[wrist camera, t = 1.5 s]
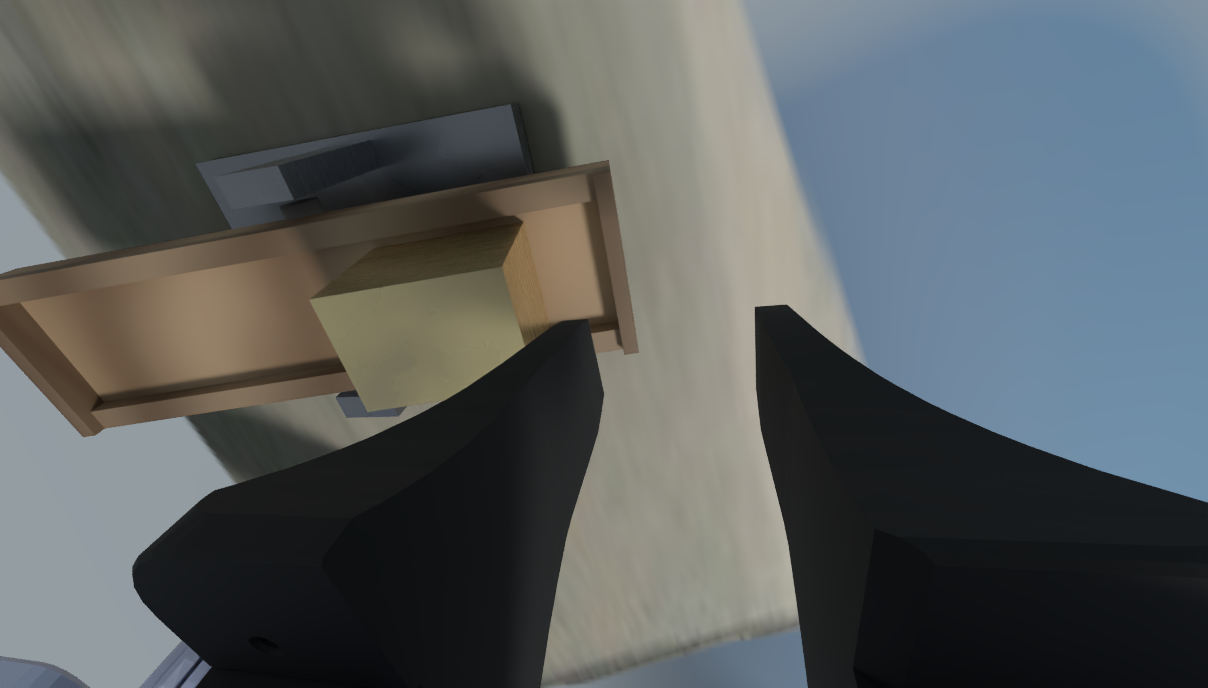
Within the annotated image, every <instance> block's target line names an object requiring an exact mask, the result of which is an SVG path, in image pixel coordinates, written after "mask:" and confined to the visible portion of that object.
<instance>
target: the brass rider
mask: <svg viewBox="0 0 1208 688" xmlns="http://www.w3.org/2000/svg"><path fill="white" fill-rule="evenodd" d="M309 301H310V303H311V304H312V306H313V308H314V310H315V312H316V314H317V316H318V318H319V320H320V322H321V324H322V326H323V327H324V329H325V331H326V333H327V335H328V337H329V339H330V341H331V343H332V345H333V347H334V349H335V350H336V352H337V354H338V356H339V358H340V360H341V362H342V364H343V366H344V368H345V370H346V372H347V374H348V375H349V377H350V379H351V381H352V383H353V385H354V387H355V389H356V391H357V393H358V395H359V397H360V398H361V400H362V402H363V404H364V406H365V408H366V410H367V412H371V411H378V410H385V409H391V408H398V407H405V406H411V405H418V404H425V403H432V402H438V401H444V400H446V399H448V398H449V397H451V396H453V395H454V394H456V393H458V392H460V391H461V390H463V389H464V388H466V387H468V386H469V385H471V384H472V383H474V382H475V381H476V380H478V379H479V378H481V377H482V376H484V375H485V374H487V373H488V372H490V371H491V370H493V369H494V368H496V367H497V366H499V365H500V364H502V363H503V362H504V361H506V360H507V359H508V358H510V357H511V356H513V355H514V354H515V353H517V352H518V351H519V350H521V349H522V348H523V347H525V346H526V345H527V344H529V343H530V342H531V341H533V340H534V339H535V338H537V337H538V336H540V335H541V334H542V333H544V332H545V331H546V330H548V326H549V318H548V315H547V311H546V307H545V303H544V299H543V295H542V291H541V287H540V283H539V279H538V276H537V272H536V268H535V264H534V260H533V256H532V252H531V248H530V244H529V240H528V236H527V233H526V229H525V225H524V222H520V223H514V224H508V225H502V226H497V227H491V228H485V229H480V230H474V231H468V232H463V233H457V234H451V235H446V236H440V237H434V238H429V239H423V240H417V241H412V242H406V243H400V244H395V245H389V246H383V247H377V248H373V249H372V250H370V251H369V252H368V253H367V254H365V255H364V256H363V257H362V258H360V259H359V260H358V261H357V262H355V263H354V264H353V265H352V266H350V267H349V268H348V269H347V270H345V271H344V272H343V273H342V274H340V275H339V276H338V277H337V278H335V279H334V280H333V281H332V282H330V283H329V284H328V285H327V286H325V287H324V288H323V289H322V290H320V291H319V292H318V293H317V294H315V295H314V296H313V297H312V298H310V299H309Z"/></svg>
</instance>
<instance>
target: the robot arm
mask: <svg viewBox="0 0 1208 688" xmlns="http://www.w3.org/2000/svg"><path fill="white" fill-rule="evenodd" d="M755 345H756V391H757V400H758V409H759V417H760V426H761V432H762V436H763V440H764V444H765V448H766V452H767V456H768V460H769V464H770V468H771V472H772V476H773V480H774V484H775V488H776V492H777V496H778V500H779V504H780V508H781V512H782V517H783V521H784V525H785V530H786V535H787V540H788V545H789V551H790V558H791V566H792V573H793V580H794V587H795V594H796V601H797V608H798V616H799V623H800V630H801V638H802V645H803V653H804V660H805V668H806V676H807V684H808V688H1208V503H1207V502H1204V501H1200V500H1197V499H1194V498H1190V497H1187V496H1184V495H1180V494H1177V493H1174V492H1170V491H1167V490H1163V489H1160V488H1157V487H1153V486H1150V485H1146V484H1143V483H1140V482H1136V481H1133V480H1129V479H1126V478H1123V477H1119V476H1115V475H1112V474H1109V473H1106V472H1102V471H1099V470H1096V469H1093V468H1090V467H1087V466H1084V465H1082V464H1079V463H1076V462H1073V461H1070V460H1067V459H1065V458H1062V457H1059V456H1056V455H1053V454H1050V453H1048V452H1045V451H1042V450H1039V449H1036V448H1033V447H1030V446H1028V445H1025V444H1023V443H1020V442H1018V441H1015V440H1012V439H1010V438H1007V437H1005V436H1002V435H1000V434H997V433H995V432H992V431H990V430H988V429H985V428H983V427H981V426H979V425H976V424H974V423H972V422H969V421H967V420H965V419H962V418H960V417H958V416H956V415H953V414H951V413H949V412H947V411H945V410H943V409H941V408H938V407H936V406H934V405H932V404H930V403H928V402H926V401H924V400H922V399H921V398H919V397H917V396H915V395H913V394H911V393H910V392H908V391H906V390H904V389H902V388H900V387H898V386H896V385H895V384H893V383H891V382H889V381H888V380H886V379H884V378H883V377H881V376H879V375H878V374H876V373H875V372H873V371H872V370H870V369H869V368H867V367H866V366H864V365H863V364H861V363H860V362H858V361H857V360H855V359H854V358H852V357H851V356H849V355H848V354H847V353H845V352H844V351H842V350H841V349H840V348H838V347H837V346H836V345H834V344H833V343H832V342H830V341H829V340H828V339H827V338H825V337H824V336H823V335H822V334H820V333H819V332H818V331H817V330H816V329H814V328H813V327H812V326H811V325H810V324H809V323H807V322H806V321H805V320H804V319H803V318H802V317H801V316H799V315H798V314H797V313H796V312H795V311H794V310H793V309H791V308H790V307H789V306H788V305H775V306H761V307H755ZM603 398H604V392H603V387H602V382H601V377H600V373H599V368H598V363H597V358H596V354H595V349H594V344H593V339H592V335H591V330H590V325H589V320H588V319H579V320H565V321H561V322H559V323H557V324H555V325H554V326H552V327H551V328H549V329H548V330H546V331H545V332H544V333H542V334H541V335H540V336H538V337H537V338H535V339H534V340H533V341H531V342H530V343H529V344H527V345H526V346H525V347H523V348H522V349H521V350H519V351H518V352H517V353H515V354H514V355H513V356H511V357H510V358H508V359H507V360H506V361H504V362H503V363H502V364H500V365H499V366H497V367H496V368H494V369H493V370H491V371H490V372H488V373H487V374H485V375H484V376H482V377H481V378H479V379H478V380H476V381H475V382H474V383H472V384H471V385H469V386H468V387H466V388H464V389H463V390H461V391H460V392H458V393H456V394H454V395H453V396H451V397H449V398H448V399H446V400H444V401H442V402H441V403H439V404H437V405H435V406H433V407H431V408H430V409H428V410H426V411H424V412H422V413H420V414H418V415H416V416H414V417H412V418H410V419H408V420H406V421H404V422H402V423H399V424H397V425H395V426H393V427H391V428H389V429H387V430H384V431H382V432H380V433H378V434H376V435H374V436H372V437H369V438H367V439H365V440H362V441H360V442H357V443H355V444H352V445H350V446H347V447H345V448H342V449H340V450H337V451H335V452H332V453H329V454H327V455H324V456H321V457H318V458H316V459H313V460H310V461H308V462H305V463H302V464H299V465H296V466H293V467H290V468H287V469H284V470H280V471H277V472H274V473H271V474H268V475H264V476H261V477H258V478H255V479H251V480H248V481H245V482H242V483H239V484H235V485H232V486H229V487H225V488H221V489H218V490H215V491H213V492H211V493H210V494H208V495H207V496H206V497H205V498H203V499H202V500H200V501H199V502H198V503H197V504H196V505H195V506H194V507H192V508H191V509H190V510H189V511H188V512H187V513H186V514H185V515H184V516H183V517H181V518H180V519H179V520H178V521H177V522H176V523H175V524H174V525H173V526H171V527H170V528H169V529H168V530H167V531H166V532H165V533H163V534H162V535H161V536H160V537H159V538H158V539H157V540H156V541H155V542H153V543H152V544H151V545H150V546H149V547H148V548H147V549H146V550H145V551H143V552H142V553H141V554H140V555H139V556H138V558H137V559H136V561H135V563H134V565H133V570H132V572H133V573H132V575H133V582H134V588H135V589H136V591H137V593H138V594H139V596H140V598H141V600H142V601H143V603H144V604H145V605H146V606H147V607H148V608H149V609H150V610H151V611H152V612H153V613H154V615H155V616H156V617H157V618H158V619H159V620H161V621H162V622H163V623H164V624H165V625H166V626H167V627H168V628H169V629H170V630H171V631H172V632H174V633H175V634H176V635H177V636H178V637H179V638H180V639H181V640H182V641H181V642H180V643H179V644H178V646H177V647H176V648H175V649H174V650H173V651H172V652H171V653H170V654H169V655H168V656H167V657H166V659H165V660H164V661H163V662H162V663H161V664H160V665H159V666H158V668H157V669H156V670H155V671H154V672H153V673H152V674H151V675H150V677H149V678H148V679H147V680H146V681H145V682H144V683H143V684H142V686H141V687H140V688H540V686H541V679H542V673H543V666H544V660H545V653H546V647H547V640H548V633H549V628H550V622H551V616H552V610H553V605H554V599H555V593H556V588H557V582H558V577H559V572H560V567H561V562H562V557H563V552H564V547H565V542H566V537H567V533H568V529H569V525H570V522H571V518H572V514H573V511H574V508H575V505H576V502H577V499H578V495H579V492H580V489H581V486H582V483H583V479H584V476H585V473H586V470H587V467H588V464H589V460H590V457H591V454H592V451H593V447H594V444H595V441H596V437H597V434H598V430H599V424H600V418H601V412H602V405H603ZM0 688H90V687H89V686H87V685H86V684H85V683H84V682H82V681H81V680H80V679H78V678H77V677H75V676H74V675H72V674H71V673H69V672H67V671H66V670H64V669H61V668H59V667H57V666H55V665H51V664H48V663H44V662H37V661H30V660H23V659H16V658H9V657H2V656H0Z"/></svg>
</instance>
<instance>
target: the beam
mask: <svg viewBox="0 0 1208 688" xmlns="http://www.w3.org/2000/svg"><path fill="white" fill-rule="evenodd" d="M279 208H280V210H281V212H282V214H283V216H284V218H285V220H279V221H274V222H268V223H263V224H258V225H252V226H247V227H241V228H236V229H230V230H225V231H219V232H214V233H208V234H203V235H198V236H192V237H187V238H181V239H176V240H170V241H165V242H159V243H154V244H148V245H143V246H137V247H132V248H127V249H121V250H116V251H110V252H105V253H99V254H94V255H88V256H83V257H77V258H72V259H67V260H61V261H56V262H50V263H45V264H39V265H34V266H28V267H23V268H17V269H14V270H11V271H9V272H5V273H3V274H0V347H1V348H2V349H3V350H4V351H5V353H6V354H7V355H8V356H9V357H10V358H11V359H12V360H13V361H14V362H15V363H16V365H17V366H18V367H19V368H20V369H21V370H22V371H23V372H24V373H25V374H26V375H27V376H28V378H29V379H30V380H31V381H32V382H33V383H34V384H35V385H36V386H37V387H38V388H39V390H40V391H41V392H42V393H43V394H44V395H45V396H46V397H47V398H48V399H49V400H50V401H51V403H52V404H53V405H54V406H55V407H56V408H57V409H58V410H59V411H60V412H61V414H62V415H64V417H65V418H66V419H67V420H68V421H69V422H70V423H71V424H72V425H73V426H74V428H75V429H76V430H77V431H78V432H79V433H80V434H81V435H82V436H83V437H87V436H94V435H96V434H98V433H99V432H101V431H102V430H103V429H105V428H110V427H116V426H124V425H130V424H136V423H143V422H150V421H156V420H162V419H169V418H176V417H182V416H189V415H195V414H202V413H208V412H215V411H222V410H228V409H235V408H241V407H248V406H254V405H261V404H267V403H274V402H280V401H287V400H293V399H300V398H306V397H313V396H319V395H326V394H332V393H339V392H346V391H352V390H356V389H355V387H354V385H353V383H352V381H351V379H350V377H349V375H348V374H347V372H346V370H345V368H344V366H343V364H342V362H341V360H340V358H339V356H338V354H337V352H336V350H335V349H334V347H333V345H332V343H331V341H330V339H329V337H328V335H327V333H326V331H325V329H324V327H323V326H322V324H321V322H320V320H319V318H318V316H317V314H316V312H315V310H314V308H313V306H312V304H311V303H310V301H309V299H310V298H312V297H313V296H314V295H315V294H317V293H318V292H319V291H320V290H322V289H323V288H324V287H325V286H327V285H328V284H329V283H330V282H332V281H333V280H334V279H335V278H337V277H338V276H339V275H340V274H342V273H343V272H344V271H345V270H347V269H348V268H349V267H350V266H352V265H353V264H354V263H355V262H357V261H358V260H359V259H360V258H362V257H363V256H364V255H365V254H367V253H368V252H369V251H370V250H372V249H373V248H377V247H383V246H389V245H395V244H400V243H406V242H412V241H417V240H423V239H429V238H434V237H440V236H446V235H451V234H457V233H463V232H468V231H474V230H480V229H485V228H491V227H497V226H502V225H508V224H514V223H520V222H524V225H525V229H526V233H527V236H528V240H529V244H530V248H531V252H532V256H533V260H534V264H535V268H536V272H537V276H538V279H539V283H540V287H541V291H542V295H543V299H544V303H545V307H546V311H547V315H548V318H549V326H548V329H549V328H551V327H552V326H554V325H555V324H557V323H559V322H561V321H565V320H579V319H588V320H589V325H590V330H591V335H592V339H593V344H594V349H595V353H600V352H607V351H613V350H620V349H623V350H624V355H626V354H633V353H639V351H638V344H637V337H636V330H635V323H634V317H633V310H632V304H631V298H630V291H629V285H628V279H627V272H626V266H625V260H624V253H623V247H622V241H621V234H620V228H619V222H618V215H617V209H616V203H615V196H614V190H613V184H612V177H611V171H610V165H609V160H607V161H601V162H596V163H590V164H585V165H579V166H574V167H568V168H563V169H558V170H552V171H547V172H541V173H536V174H530V175H525V176H519V177H514V178H508V179H503V180H498V181H492V182H487V183H481V184H476V185H470V186H465V187H459V188H454V189H448V190H443V191H438V192H432V193H427V194H421V195H416V196H410V197H405V198H399V199H394V200H388V201H383V202H378V203H372V204H367V205H361V206H356V207H350V208H345V209H339V210H334V211H328V212H324V210H323V208H322V205H321V203H320V201H319V199H318V197H311V198H306V199H301V200H297V201H293V202H290V203H287V204H284V205H282V206H280V207H279Z"/></svg>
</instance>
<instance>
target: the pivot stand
mask: <svg viewBox="0 0 1208 688" xmlns="http://www.w3.org/2000/svg"><path fill="white" fill-rule="evenodd" d="M196 166H197V168H198V170H199V171H200V173H201V175H202V177H203V179H204V180H205V182H206V184H207V186H208V187H209V189H210V191H211V193H212V195H213V196H214V198H215V200H216V202H217V203H218V205H219V207H220V209H221V211H222V212H223V214H224V216H225V218H226V219H227V221H228V223H229V225H230V227H231V228H232V229H236V228H241V227H247V226H252V225H258V224H263V223H268V222H274V221H279V220H285V218H284V216H283V214H282V212H281V210H280V208H279V207H280V206H282V205H284V204H287V203H290V202H293V201H297V200H301V199H306V198H311V197H318V199H319V201H320V203H321V205H322V208H323V210H324V212H328V211H334V210H339V209H345V208H350V207H356V206H361V205H367V204H372V203H378V202H383V201H388V200H394V199H399V198H405V197H410V196H416V195H421V194H427V193H432V192H438V191H443V190H448V189H454V188H459V187H465V186H470V185H476V184H481V183H487V182H492V181H498V180H503V179H508V178H514V177H519V176H525V175H530V174H535V172H534V168H533V164H532V159H531V155H530V151H529V147H528V142H527V138H526V134H525V129H524V125H523V121H522V116H521V112H520V108H519V104H518V102H516V103H511V104H506V105H500V106H495V107H490V108H485V109H479V110H474V111H469V112H463V113H458V114H453V115H447V116H442V117H437V118H432V119H426V120H421V121H416V122H410V123H405V124H400V125H395V126H389V127H384V128H379V129H373V130H368V131H363V132H357V133H352V134H347V135H342V136H336V137H331V138H326V139H320V140H315V141H310V142H304V143H299V144H294V145H289V146H283V147H278V148H273V149H267V150H262V151H257V152H251V153H246V154H241V155H236V156H230V157H225V158H220V159H214V160H210V161H205V162H201V163H196ZM336 399H337V401H338V403H339V405H340V407H341V408H342V410H343V412H344V414H345V416H346V417H347V418H349V417H390V416H399V415H400V414H401V413H402V412H403V410H404V409H405V408H406V407H407V406H405V407H398V408H391V409H385V410H378V411H371V412H367V410H366V408H365V406H364V404H363V402H362V400H361V398H360V397H359V395H358V393H357V391H356V390H352V391H346V392H341V393H340V394H339V395H338V396H337V397H336Z"/></svg>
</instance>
